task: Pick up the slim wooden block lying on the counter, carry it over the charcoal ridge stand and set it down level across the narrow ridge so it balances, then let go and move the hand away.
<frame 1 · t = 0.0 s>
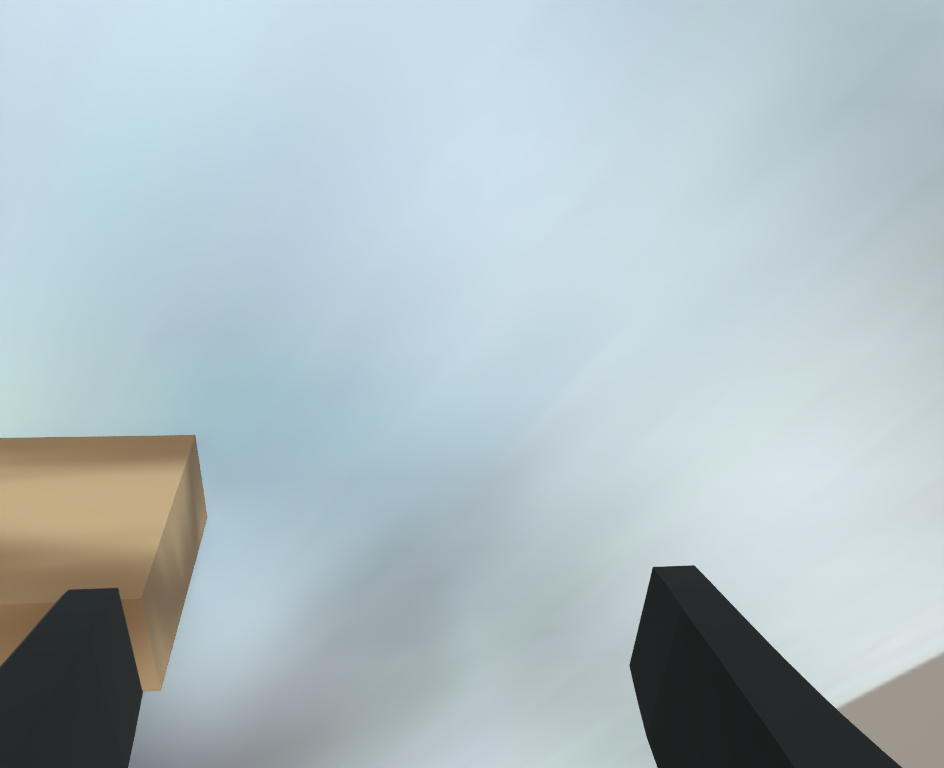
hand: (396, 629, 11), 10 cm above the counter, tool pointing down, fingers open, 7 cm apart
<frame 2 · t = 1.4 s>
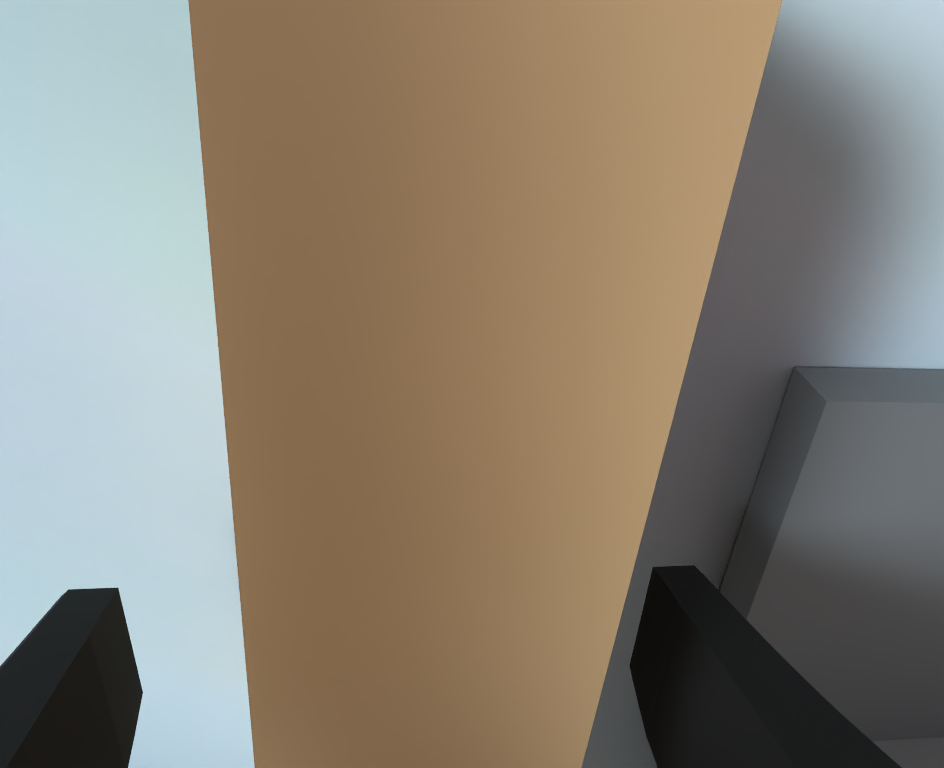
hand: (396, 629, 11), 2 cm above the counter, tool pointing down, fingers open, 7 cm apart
wooden block: (395, 511, 13), on the counter
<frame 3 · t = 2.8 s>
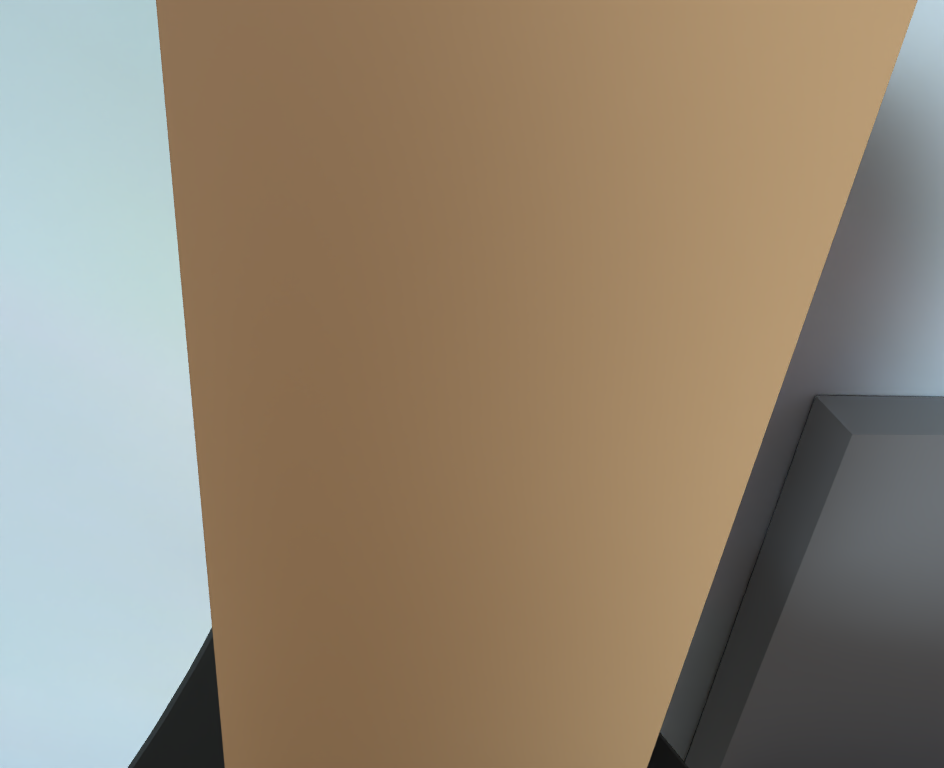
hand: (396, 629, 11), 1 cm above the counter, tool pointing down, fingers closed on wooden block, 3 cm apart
wooden block: (392, 553, 12), on the counter, touching gripper
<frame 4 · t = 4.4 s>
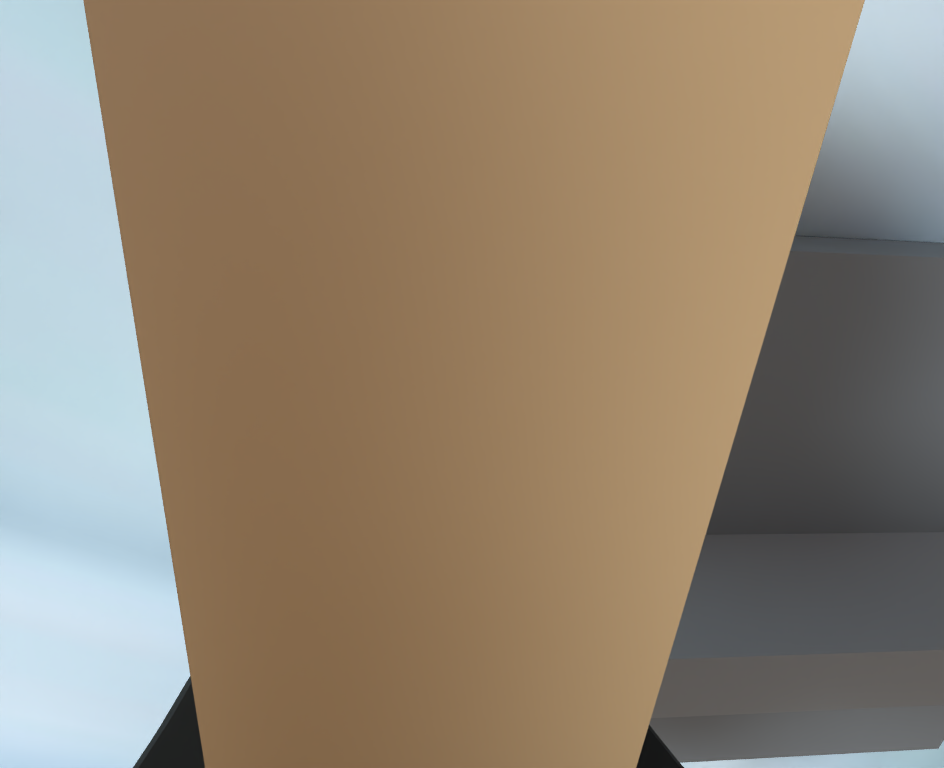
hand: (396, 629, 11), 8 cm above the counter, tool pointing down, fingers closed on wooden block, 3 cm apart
wooden block: (392, 553, 12), point 7 cm above the counter, touching gripper
ridge stand: (819, 536, 23), on the counter
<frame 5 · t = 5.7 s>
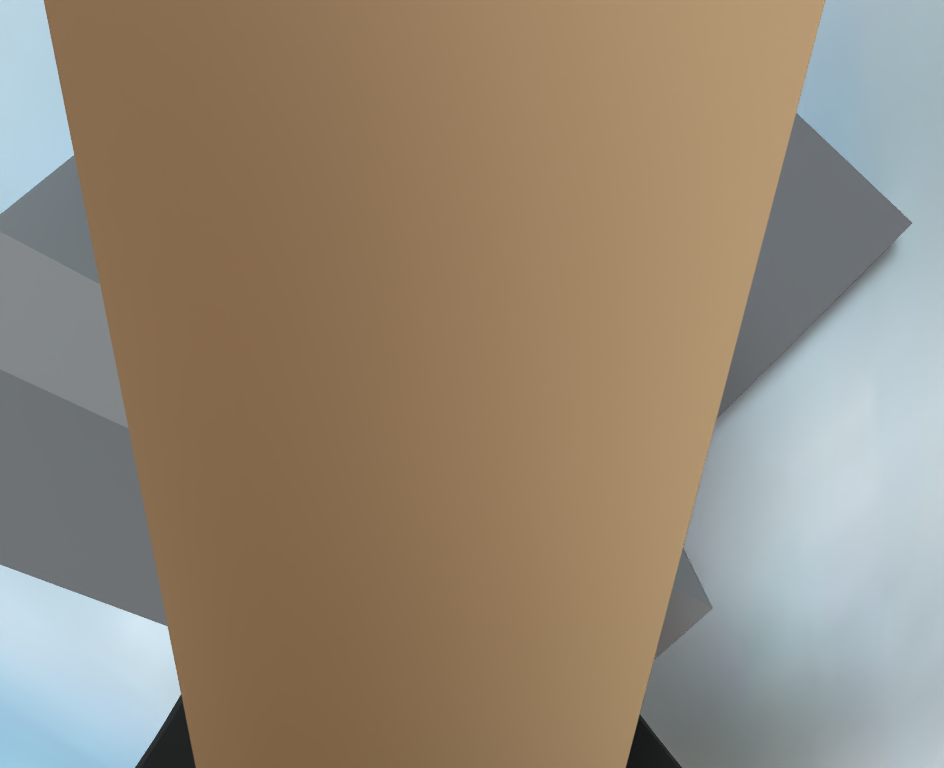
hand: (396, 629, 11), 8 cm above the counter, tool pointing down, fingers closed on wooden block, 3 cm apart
wooden block: (393, 556, 12), point 6 cm above the counter, touching gripper
ridge stand: (386, 355, 17), on the counter
when the fingers open (7 cm above the counter, at t = 6.5 s): wooden block stays where it is, resting on ridge stand.
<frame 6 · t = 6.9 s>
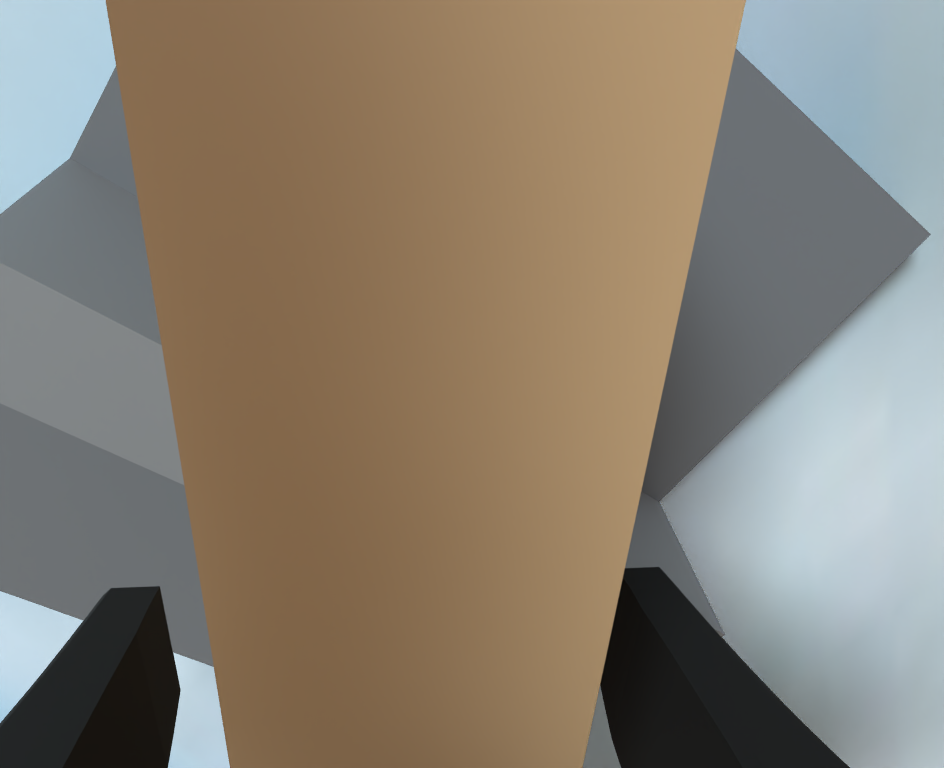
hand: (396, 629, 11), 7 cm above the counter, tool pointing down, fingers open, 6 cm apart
wooden block: (392, 526, 13), point 5 cm above the counter, touching ridge stand
ridge stand: (386, 370, 17), on the counter
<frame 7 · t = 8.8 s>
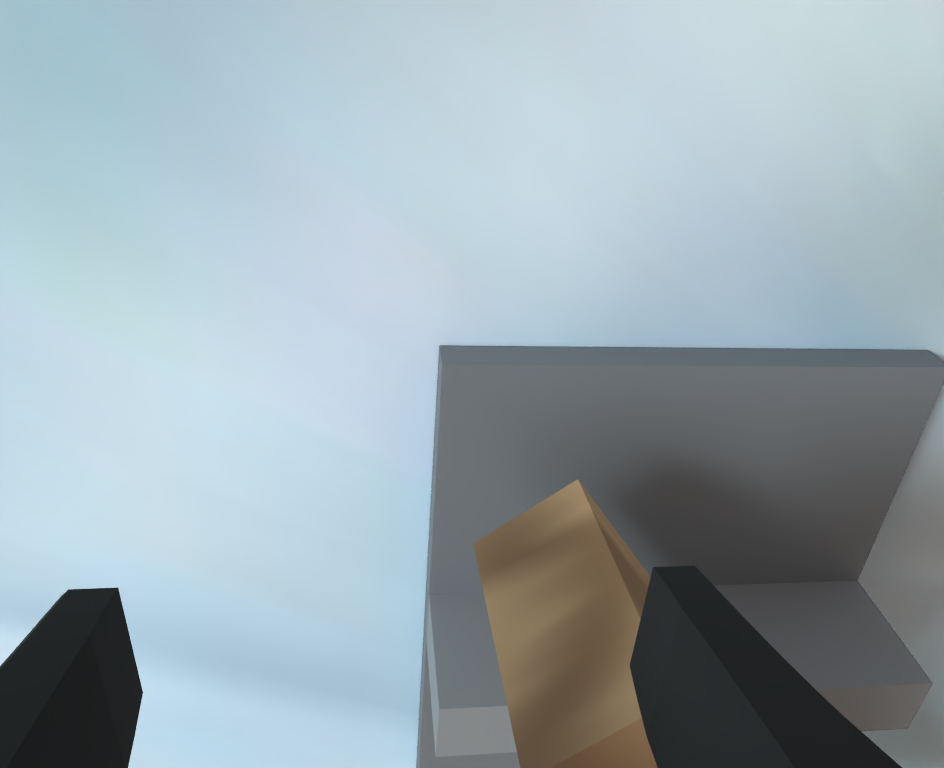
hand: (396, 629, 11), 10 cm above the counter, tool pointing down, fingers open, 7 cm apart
wooden block: (692, 718, 21), point 5 cm above the counter, touching ridge stand
ridge stand: (636, 587, 26), on the counter
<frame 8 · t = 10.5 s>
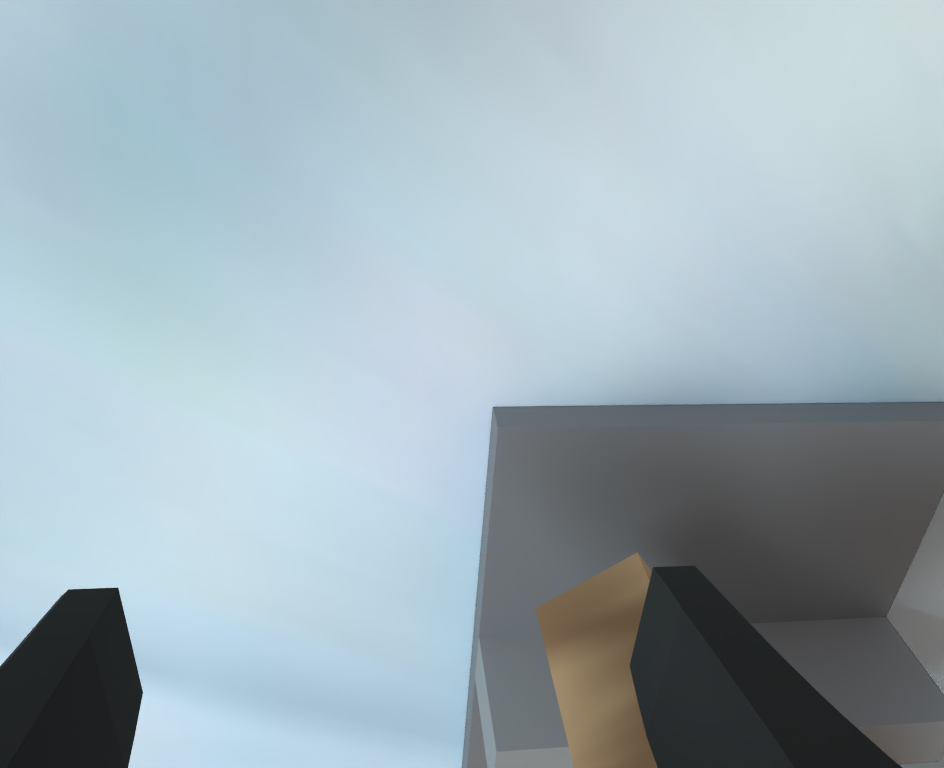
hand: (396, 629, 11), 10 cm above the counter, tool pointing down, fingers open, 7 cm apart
wooden block: (733, 754, 23), point 5 cm above the counter, touching ridge stand
ridge stand: (673, 624, 27), on the counter
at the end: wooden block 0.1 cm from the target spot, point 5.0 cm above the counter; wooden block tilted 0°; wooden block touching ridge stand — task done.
